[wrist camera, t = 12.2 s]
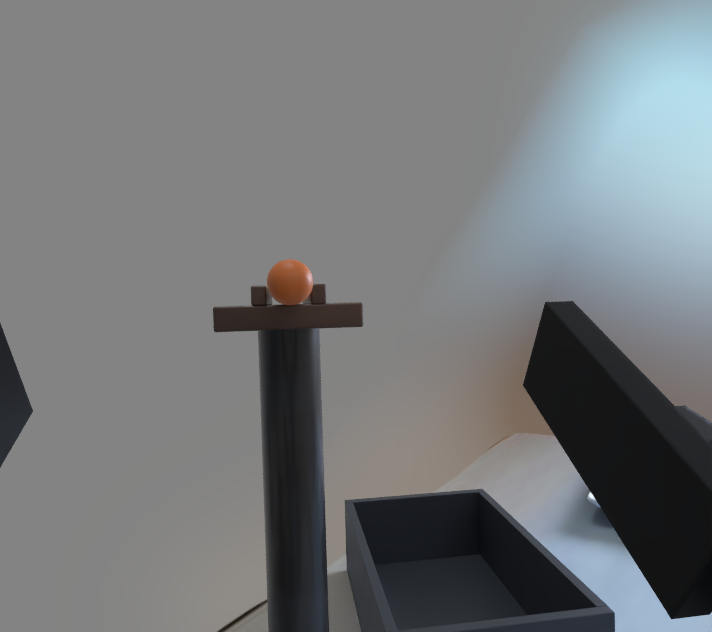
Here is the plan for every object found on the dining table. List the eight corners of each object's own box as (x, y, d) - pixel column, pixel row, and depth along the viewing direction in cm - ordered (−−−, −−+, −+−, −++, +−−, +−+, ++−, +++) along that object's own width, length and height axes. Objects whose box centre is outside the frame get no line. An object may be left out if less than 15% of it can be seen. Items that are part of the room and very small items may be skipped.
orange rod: (277, 304, 33) (276, 285, 33) (296, 304, 33) (295, 285, 33) (266, 305, 13) (265, 257, 13) (315, 304, 13) (313, 256, 13)
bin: (346, 569, 56) (344, 500, 56) (484, 555, 59) (482, 488, 58) (391, 756, 33) (387, 639, 33) (616, 722, 35) (615, 612, 35)
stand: (236, 790, 31) (217, 292, 30) (368, 770, 32) (354, 289, 31) (214, 1017, 21) (185, 287, 20) (405, 977, 22) (386, 282, 21)
